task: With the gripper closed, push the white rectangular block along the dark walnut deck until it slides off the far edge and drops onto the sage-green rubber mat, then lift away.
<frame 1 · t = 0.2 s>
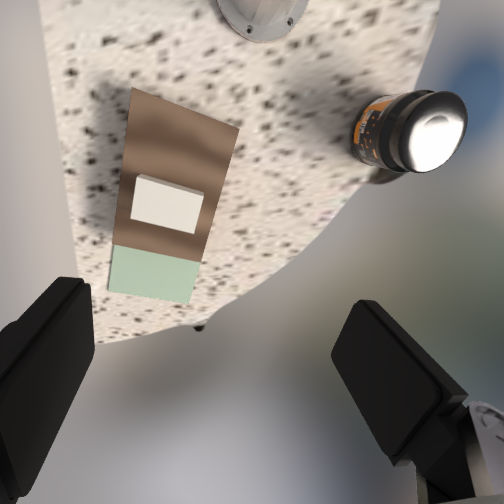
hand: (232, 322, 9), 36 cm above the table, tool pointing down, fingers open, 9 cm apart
deck: (174, 184, 40), on the table
white rectangular block: (168, 204, 36), point 5 cm above the table, touching deck
supplement container: (375, 132, 42), on the table
mat: (155, 271, 47), on the table
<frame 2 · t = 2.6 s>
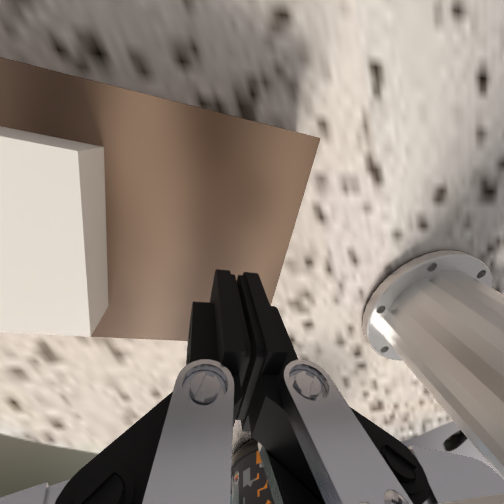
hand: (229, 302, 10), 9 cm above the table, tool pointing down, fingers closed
deck: (112, 212, 16), on the table
white rectangular block: (24, 238, 11), point 5 cm above the table, touching deck
supplement container: (268, 450, 33), on the table
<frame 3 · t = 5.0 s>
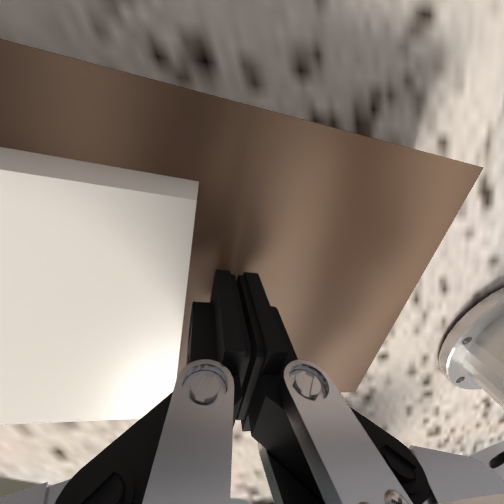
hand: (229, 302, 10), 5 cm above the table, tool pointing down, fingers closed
deck: (194, 246, 14), on the table
white rectangular block: (95, 303, 9), point 5 cm above the table, touching deck, gripper
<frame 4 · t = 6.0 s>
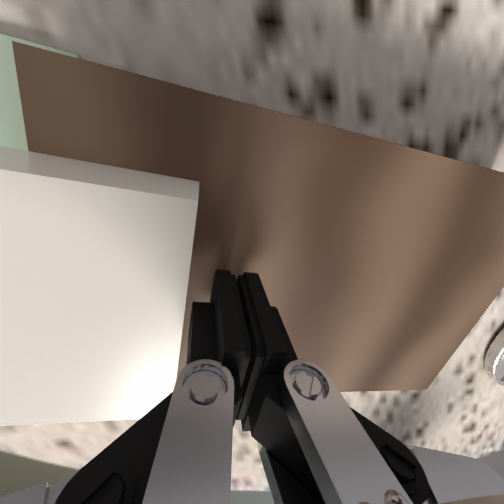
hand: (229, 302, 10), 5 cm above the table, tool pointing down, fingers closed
deck: (290, 257, 15), on the table
white rectangular block: (94, 304, 9), point 5 cm above the table, touching gripper
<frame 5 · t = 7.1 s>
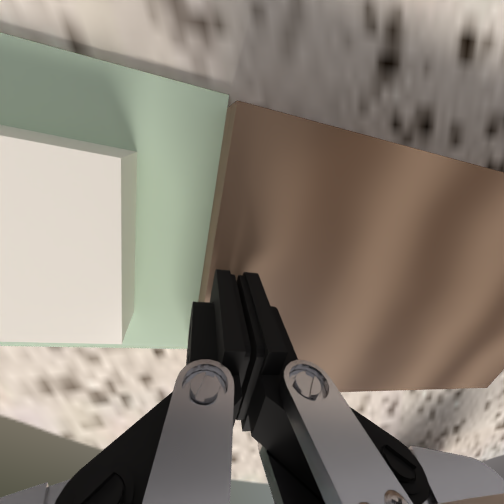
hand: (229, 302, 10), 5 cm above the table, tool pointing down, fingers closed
deck: (370, 267, 17), on the table
white rectangular block: (55, 246, 11), point 2 cm above the table, tilted 180°, touching mat
mat: (86, 234, 13), on the table
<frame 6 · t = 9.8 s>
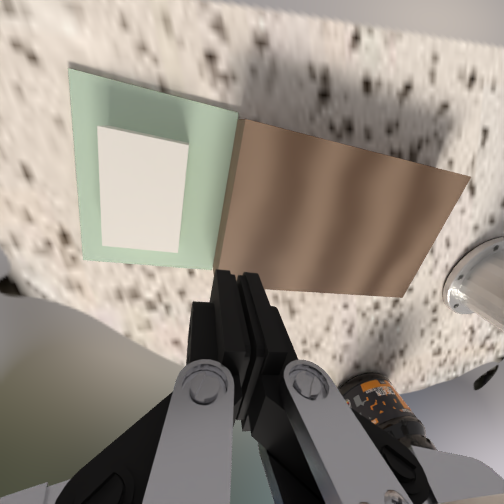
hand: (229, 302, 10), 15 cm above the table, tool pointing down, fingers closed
deck: (324, 217, 27), on the table
white rectangular block: (145, 194, 20), point 2 cm above the table, tilted 180°, touching mat
supplement container: (358, 388, 44), on the table
mat: (156, 190, 22), on the table
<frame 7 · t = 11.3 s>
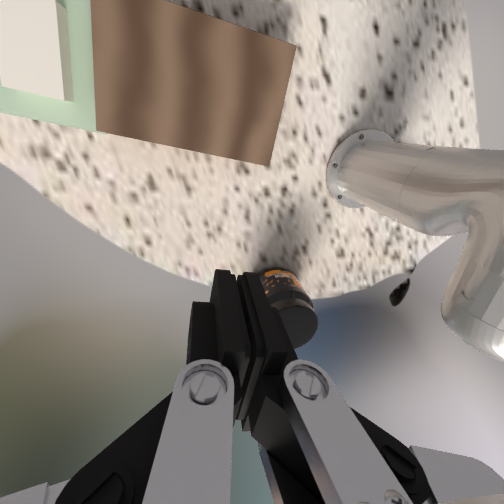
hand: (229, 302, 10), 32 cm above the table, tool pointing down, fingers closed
deck: (196, 92, 33), on the table
white rectangular block: (34, 48, 27), point 2 cm above the table, tilted 180°, touching mat
supplement container: (271, 286, 50), on the table
mat: (48, 53, 29), on the table
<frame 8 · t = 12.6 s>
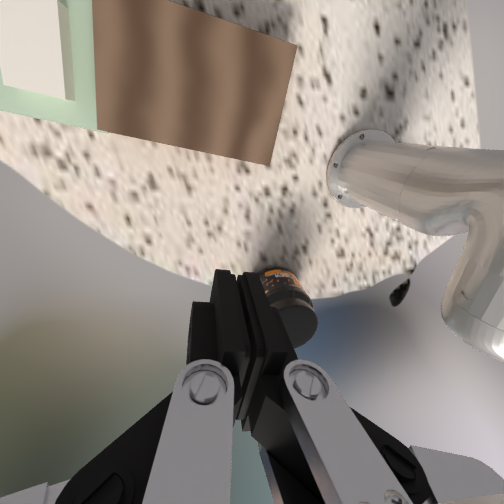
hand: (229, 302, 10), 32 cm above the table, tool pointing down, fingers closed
deck: (197, 91, 33), on the table
white rectangular block: (36, 47, 28), point 2 cm above the table, tilted 180°, touching mat
supplement container: (271, 286, 50), on the table
mat: (49, 51, 29), on the table
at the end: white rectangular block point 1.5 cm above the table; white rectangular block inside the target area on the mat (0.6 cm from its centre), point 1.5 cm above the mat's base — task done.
